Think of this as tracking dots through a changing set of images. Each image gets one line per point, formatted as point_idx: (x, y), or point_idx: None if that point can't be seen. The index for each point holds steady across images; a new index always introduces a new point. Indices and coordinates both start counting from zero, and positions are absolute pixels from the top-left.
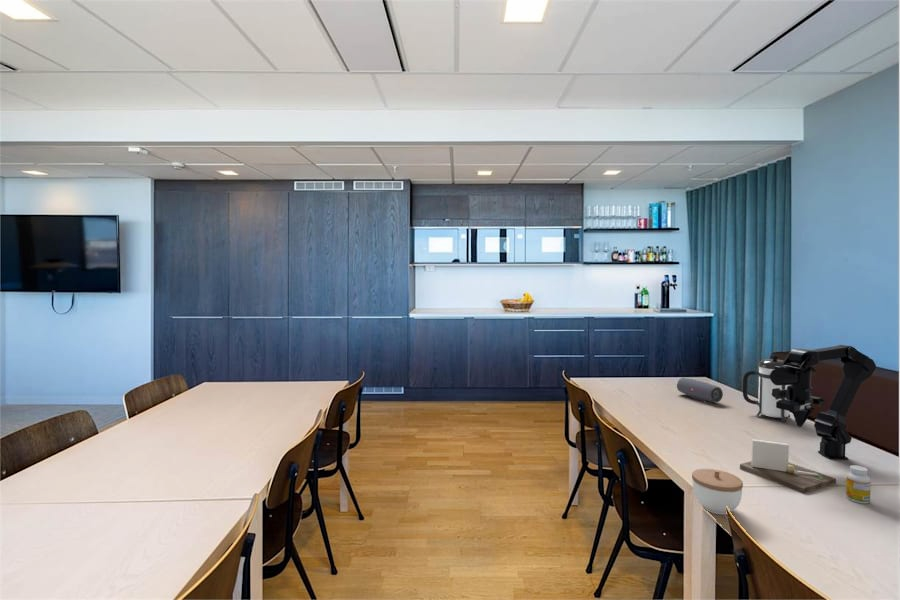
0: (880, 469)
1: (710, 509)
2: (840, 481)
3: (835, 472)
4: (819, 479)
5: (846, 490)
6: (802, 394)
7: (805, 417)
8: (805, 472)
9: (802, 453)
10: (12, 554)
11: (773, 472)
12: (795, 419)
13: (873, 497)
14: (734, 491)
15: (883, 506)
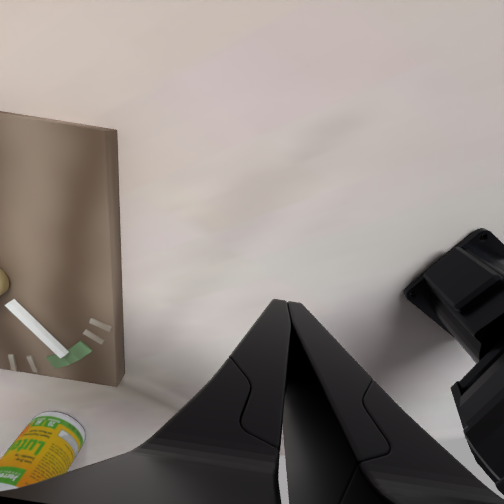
0: (416, 419)
1: None
2: (156, 376)
3: (235, 346)
4: (47, 360)
5: (21, 434)
6: None
7: (288, 491)
8: (29, 327)
9: (393, 183)
10: None
11: None
12: (242, 343)
13: (119, 445)
14: None
15: (83, 464)
